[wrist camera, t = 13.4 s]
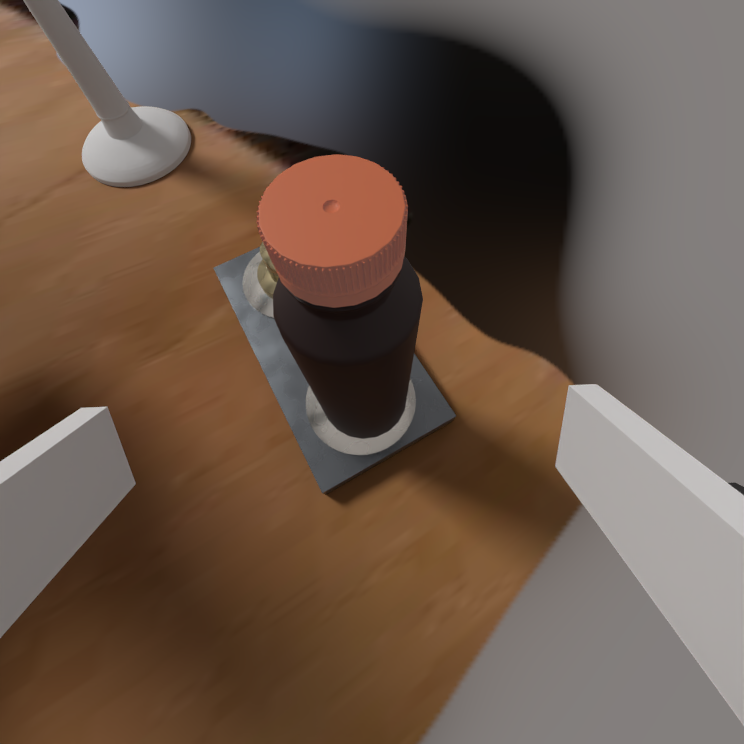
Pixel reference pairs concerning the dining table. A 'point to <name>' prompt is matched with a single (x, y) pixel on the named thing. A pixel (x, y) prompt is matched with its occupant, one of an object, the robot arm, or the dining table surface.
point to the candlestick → (114, 113)
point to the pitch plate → (301, 408)
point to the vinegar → (344, 287)
